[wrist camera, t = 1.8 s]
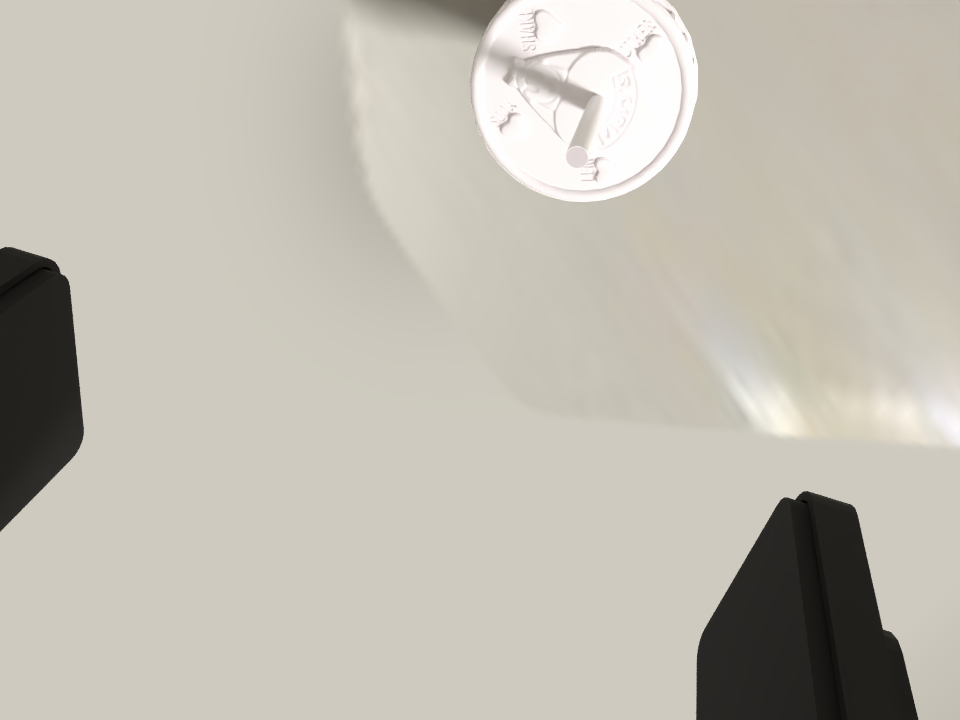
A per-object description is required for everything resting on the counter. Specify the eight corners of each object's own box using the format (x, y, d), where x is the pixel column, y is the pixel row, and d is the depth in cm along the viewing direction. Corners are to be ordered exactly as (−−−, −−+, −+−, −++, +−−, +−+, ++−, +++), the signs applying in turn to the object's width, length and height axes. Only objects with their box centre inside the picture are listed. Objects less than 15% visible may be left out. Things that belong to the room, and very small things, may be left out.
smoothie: (660, 131, 33) (632, 305, 21) (507, 76, 33) (398, 220, 22) (732, -40, 29) (745, 62, 18) (559, -101, 29) (461, -39, 18)
